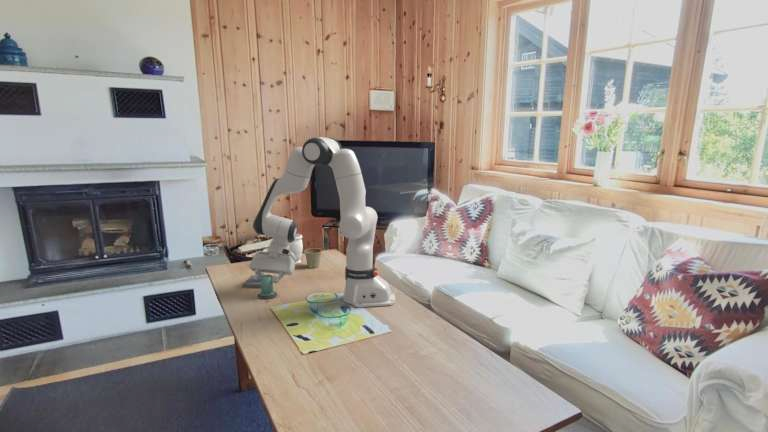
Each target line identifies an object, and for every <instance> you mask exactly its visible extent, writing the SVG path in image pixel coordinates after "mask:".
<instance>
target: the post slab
mask: <svg viewBox="0 0 768 432" xmlns="http://www.w3.org/2000/svg"><path fill="white" fill-rule="evenodd" d="M254 278H255V274H254V275H253V274H252V275H250V276H249V277H248V278H247V279H246V280H245V281H244V282H243V284H242V288H247V289H248V288H249V289H250V288H253V289H254V288H256V289H257V288H259V289H261V281H255V280H254ZM272 278H273V283H274V279H275V278H277V275H272Z"/></svg>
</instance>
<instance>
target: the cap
mask: <svg viewBox="0 0 768 432" xmlns="http://www.w3.org/2000/svg"><path fill="white" fill-rule="evenodd" d="M272 276H273V275H272V274H264V275H263V276H261V277H260V281H261V288H260V292H259V293H260V296H262V297H270V296H273V295H274V292H275V291H274V285H273V284H274V282H273V278H272Z"/></svg>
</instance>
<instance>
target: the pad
mask: <svg viewBox="0 0 768 432" xmlns="http://www.w3.org/2000/svg"><path fill="white" fill-rule="evenodd" d="M277 296H278V293H277V292H276V291H274V295H273V296H270V297H262V296H260V292H259V293H257V298H258V299H260V300H270V299H274V298H277Z"/></svg>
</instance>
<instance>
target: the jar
mask: <svg viewBox="0 0 768 432" xmlns="http://www.w3.org/2000/svg"><path fill="white" fill-rule="evenodd" d="M302 239H303V235H302V234H300V233H297V234H296V236H295V239H294V241H292V243H291V244H290V246H289V250H290V251H292V252H293V253H294V255H295V256H296V261H294V262H295V265H298V264H301V263H302V260H301V258H302V256H303V252H304V250H303V249H304V248H303V247H304V246H303V240H302Z"/></svg>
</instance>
